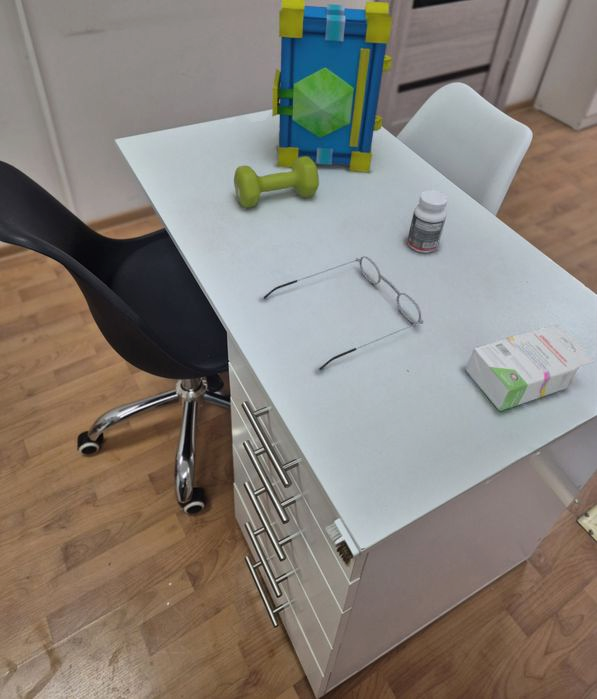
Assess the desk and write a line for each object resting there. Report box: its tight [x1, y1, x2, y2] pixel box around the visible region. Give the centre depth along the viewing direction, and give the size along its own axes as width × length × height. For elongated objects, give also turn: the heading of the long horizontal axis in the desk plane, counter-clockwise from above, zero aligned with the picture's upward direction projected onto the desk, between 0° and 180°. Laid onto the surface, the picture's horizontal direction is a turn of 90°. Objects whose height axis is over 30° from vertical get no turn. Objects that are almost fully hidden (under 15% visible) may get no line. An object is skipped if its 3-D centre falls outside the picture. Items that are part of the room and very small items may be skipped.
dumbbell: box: [233, 156, 320, 209], centre depth 108 cm, size 16×8×7 cm, turn 112°
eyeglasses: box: [263, 255, 424, 371], centre depth 86 cm, size 18×19×4 cm
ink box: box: [465, 324, 595, 412], centre depth 77 cm, size 9×5×15 cm
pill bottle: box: [407, 189, 448, 254], centre depth 98 cm, size 6×6×10 cm
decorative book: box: [271, 0, 393, 173], centre depth 112 cm, size 14×23×30 cm, turn 88°
